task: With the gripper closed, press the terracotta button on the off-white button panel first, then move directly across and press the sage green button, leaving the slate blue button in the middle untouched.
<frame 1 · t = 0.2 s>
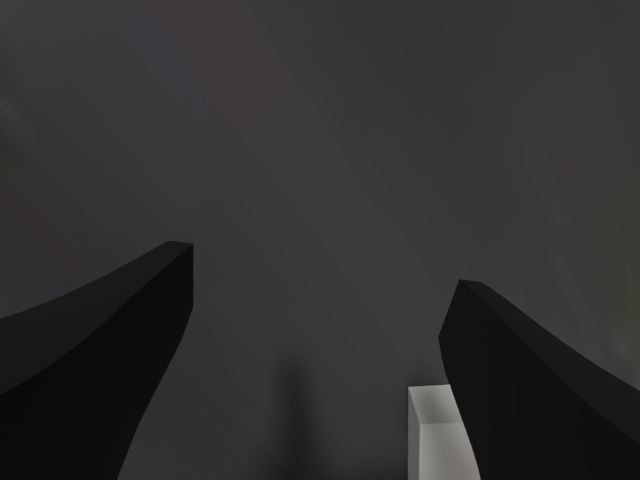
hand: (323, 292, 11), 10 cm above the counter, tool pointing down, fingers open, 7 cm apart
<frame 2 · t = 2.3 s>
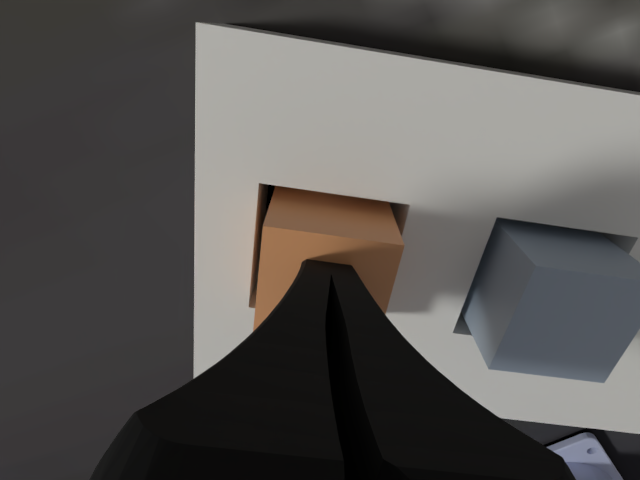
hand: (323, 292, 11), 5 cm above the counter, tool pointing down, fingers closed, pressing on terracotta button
terracotta button: (323, 265, 12), point 3 cm above the counter, slide at 0.1 cm, touching gripper
button panel: (503, 244, 16), on the counter
slate blue button: (546, 297, 13), point 3 cm above the counter, slide at 0.0 cm
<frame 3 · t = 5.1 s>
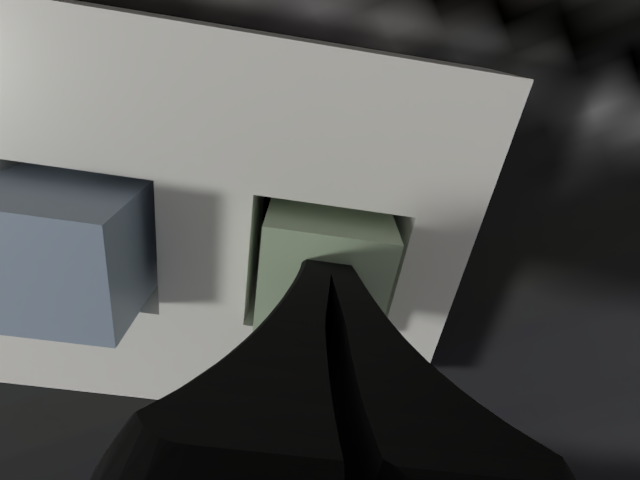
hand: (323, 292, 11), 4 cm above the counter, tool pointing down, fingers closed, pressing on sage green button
button panel: (124, 202, 14), on the counter
sage green button: (323, 266, 12), point 2 cm above the counter, slide at 1.0 cm, touching gripper
slate blue button: (67, 251, 11), point 3 cm above the counter, slide at 0.0 cm
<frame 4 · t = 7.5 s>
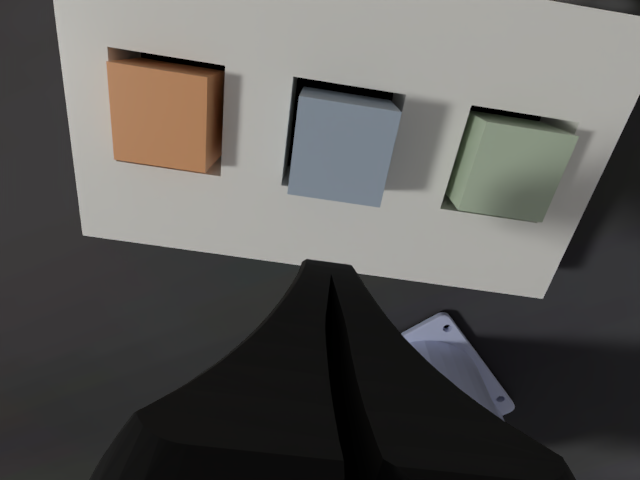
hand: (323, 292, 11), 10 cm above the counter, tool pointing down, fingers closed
terracotta button: (172, 113, 17), point 2 cm above the counter, slide at 1.0 cm
button panel: (338, 127, 19), on the counter
sage green button: (501, 164, 17), point 2 cm above the counter, slide at 1.0 cm
slate blue button: (340, 145, 16), point 3 cm above the counter, slide at 0.0 cm
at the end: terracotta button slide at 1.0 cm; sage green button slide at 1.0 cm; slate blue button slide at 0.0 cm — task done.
